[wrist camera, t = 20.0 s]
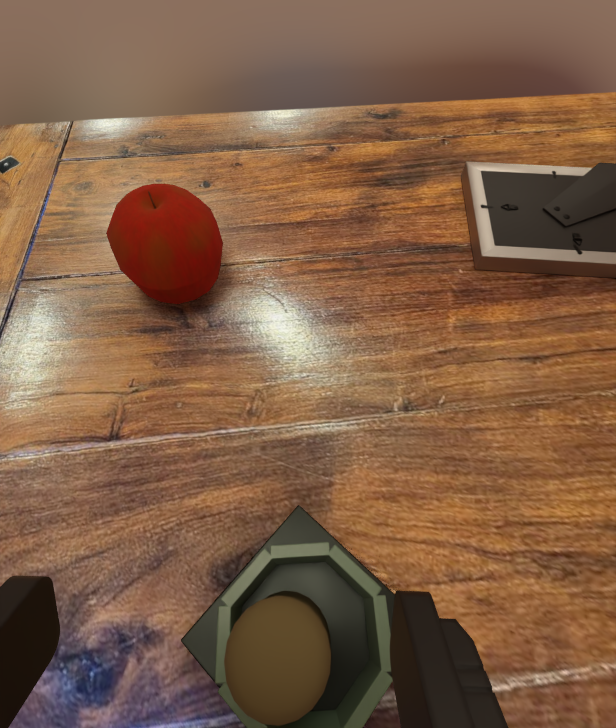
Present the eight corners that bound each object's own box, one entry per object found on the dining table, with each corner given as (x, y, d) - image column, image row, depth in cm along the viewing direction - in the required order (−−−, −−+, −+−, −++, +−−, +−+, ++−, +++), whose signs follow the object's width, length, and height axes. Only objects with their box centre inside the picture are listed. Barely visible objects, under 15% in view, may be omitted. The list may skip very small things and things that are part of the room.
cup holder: (311, 795, 26) (312, 844, 21) (183, 639, 30) (157, 647, 24) (422, 623, 30) (447, 627, 25) (298, 507, 34) (297, 490, 29)
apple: (116, 299, 44) (59, 211, 34) (170, 236, 49) (134, 141, 39) (198, 333, 42) (164, 250, 32) (247, 264, 47) (230, 172, 37)
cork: (274, 572, 31) (259, 559, 21) (346, 624, 29) (366, 635, 20) (223, 657, 28) (181, 686, 19) (299, 719, 27) (295, 784, 17)
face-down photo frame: (626, 185, 53) (460, 176, 54) (642, 164, 51) (468, 155, 52) (669, 281, 46) (474, 269, 46) (689, 263, 43) (484, 250, 44)
